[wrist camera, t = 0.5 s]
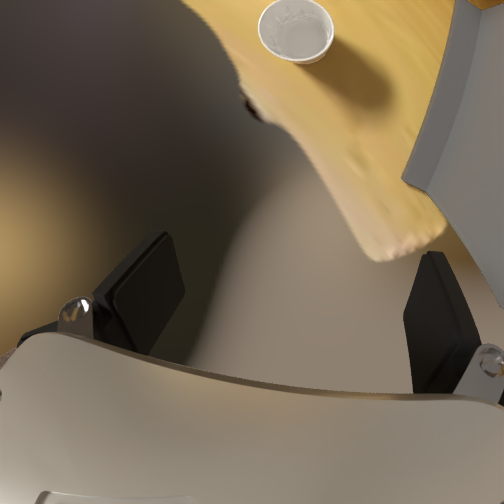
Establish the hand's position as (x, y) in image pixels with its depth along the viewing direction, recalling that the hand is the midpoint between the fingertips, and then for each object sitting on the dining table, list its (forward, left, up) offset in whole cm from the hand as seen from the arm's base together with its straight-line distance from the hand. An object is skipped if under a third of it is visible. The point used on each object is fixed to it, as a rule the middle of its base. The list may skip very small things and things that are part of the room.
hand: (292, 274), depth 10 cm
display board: (-14, +18, -33) cm, 40 cm away
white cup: (-12, -6, -33) cm, 35 cm away
